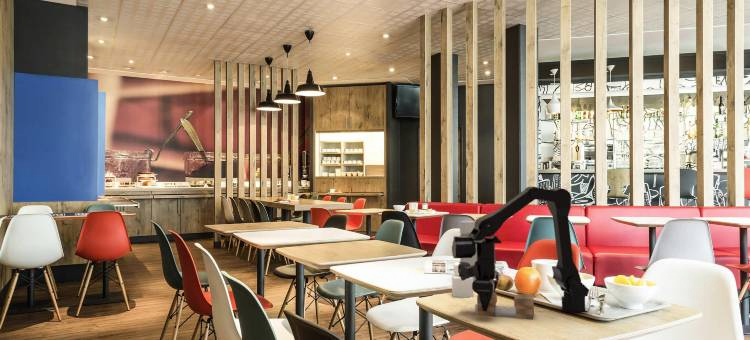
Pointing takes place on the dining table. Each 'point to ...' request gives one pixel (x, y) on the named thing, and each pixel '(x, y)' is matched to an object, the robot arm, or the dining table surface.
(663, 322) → the dining table surface
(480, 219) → the robot arm
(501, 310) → the rail
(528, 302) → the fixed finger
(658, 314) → the dining table surface
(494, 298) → the block
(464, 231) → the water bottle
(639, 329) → the dining table surface
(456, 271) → the medicine bottle
